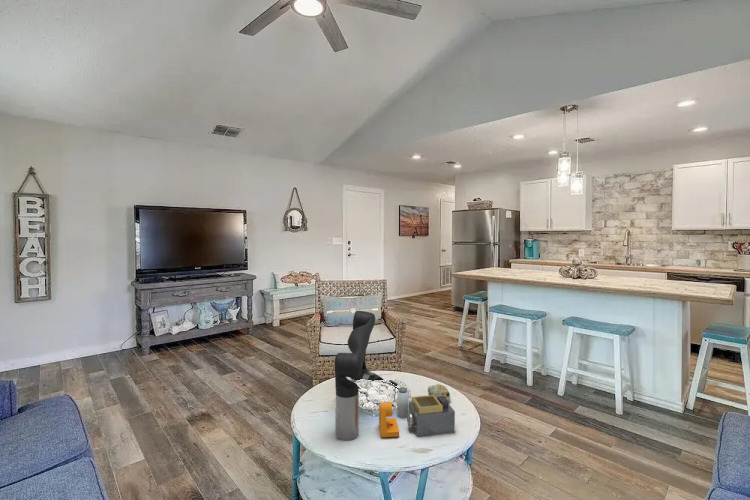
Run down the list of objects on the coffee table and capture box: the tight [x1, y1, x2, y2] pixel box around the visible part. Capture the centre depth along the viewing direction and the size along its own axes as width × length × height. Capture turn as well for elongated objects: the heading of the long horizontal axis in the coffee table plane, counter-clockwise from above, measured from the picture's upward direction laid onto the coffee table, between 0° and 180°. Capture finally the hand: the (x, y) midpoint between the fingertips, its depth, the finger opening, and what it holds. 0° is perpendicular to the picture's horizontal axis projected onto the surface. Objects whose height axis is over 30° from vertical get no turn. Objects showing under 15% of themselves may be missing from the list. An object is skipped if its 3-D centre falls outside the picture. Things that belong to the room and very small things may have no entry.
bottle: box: [396, 386, 410, 419], centre depth 160 cm, size 5×5×12 cm
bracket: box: [378, 401, 400, 438], centre depth 148 cm, size 11×7×12 cm, turn 4°
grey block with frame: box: [406, 394, 456, 438], centre depth 150 cm, size 18×11×12 cm, turn 101°
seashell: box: [427, 384, 451, 405], centre depth 175 cm, size 10×10×10 cm
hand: (391, 393), depth 168 cm, fingers open, 8 cm apart
